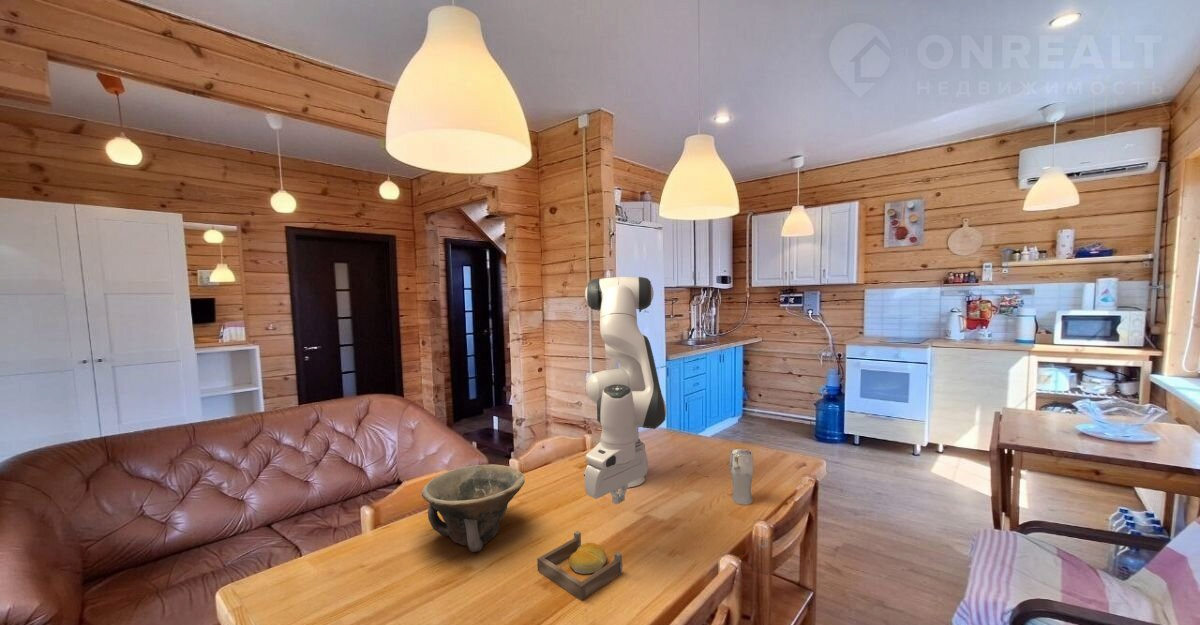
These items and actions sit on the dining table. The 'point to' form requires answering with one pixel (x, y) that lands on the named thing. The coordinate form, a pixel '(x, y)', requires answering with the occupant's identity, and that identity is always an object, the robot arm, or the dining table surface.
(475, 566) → the dining table surface
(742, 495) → the beer glass
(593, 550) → the bread roll
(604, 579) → the bay
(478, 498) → the bowl
